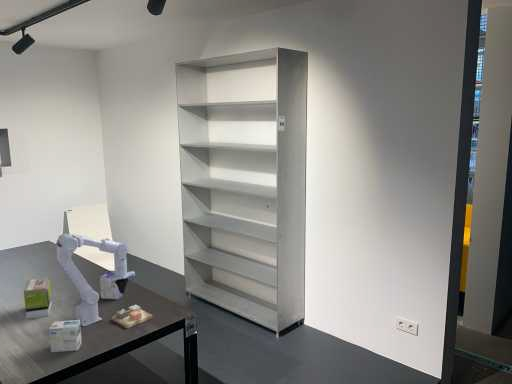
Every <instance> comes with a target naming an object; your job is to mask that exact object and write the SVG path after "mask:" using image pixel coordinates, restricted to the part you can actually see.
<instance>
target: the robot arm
mask: <svg viewBox="0 0 512 384" xmlns="http://www.w3.org/2000/svg"><path fill="white" fill-rule="evenodd" d="M55 245H56V259H57V261H58V263H59V264H60V266H61V267H62V269H63V270H64V271H65V273H66V274H67V276H68V277H69V278H70V280H71V281H72V283H73V284H74V286H75V287H76V289H77V291H78V297H79V298H80V299H81V301H80V302H81V303H80V304H79V305H77V306H76V307H75V320H80V326H82V327H86V326H89V325H91V324H94V323H97V322H99V321H102V320H103V318H102V317H100V316H99V307H98V306H99V303H98V301H100V295H99V292H98V291H95V289H93V287H92V286H91V285H89V283H88V282H87V280H86V279H85V277H84V276H83V274H82V273H81V271H80V270H79V268H78V267H77V265H76V264H75V263H74V262H73V259H72V256H73V254H74V253H75V252H76V250H77V249H78V248H82V247H83V246H88V247H95V248H98V250H99V251H100V252H104V253H110V254H113V261H114V264H113V266H114V271H115V275H114V276H112V277H110V278H107V283H111V282H113V281H115V283H116V284H117V286H118V289H119V292H120V293H121V294H122V295H123V294H124V293H125V290H126V287H127V284H128V282H129V277H135V276H136V272H135V271H134V270H132V271H131V270H130V271H128V265H127V254H128V252H129V248H128V246H127V245H126V244H124V243H122V242H119V240H114V241H113V240H110V238H108V237H107V238H103V239H100V240H98V239H94V238H90V237H86V236H83V235H80V234H79V235H78V234H73V233H72V234H69V233H62V234H60V235H59V236H58V238H57V240H56V243H55Z"/></svg>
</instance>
